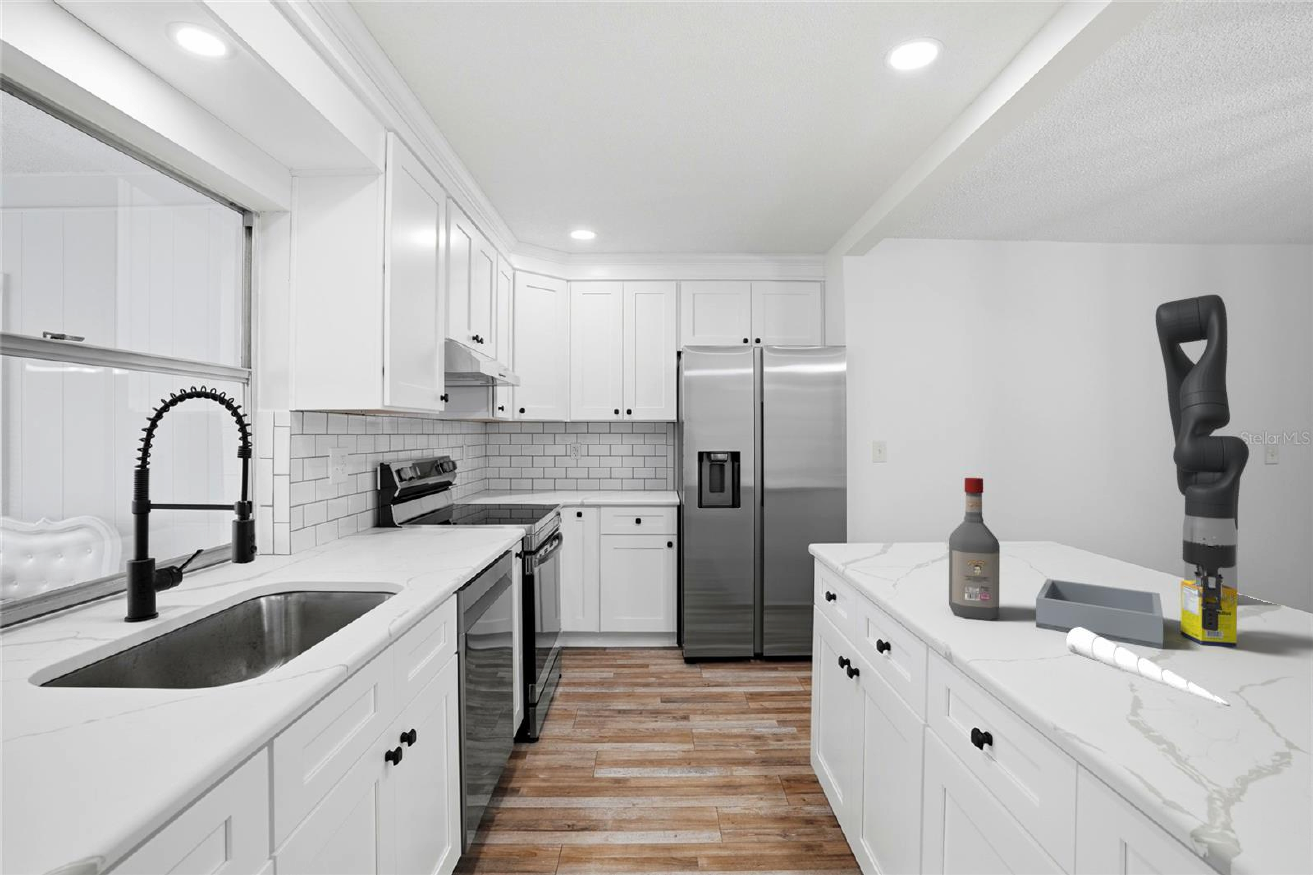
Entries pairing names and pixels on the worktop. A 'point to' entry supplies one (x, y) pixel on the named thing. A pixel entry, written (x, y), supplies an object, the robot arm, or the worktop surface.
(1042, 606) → the bin
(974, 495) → the liquor
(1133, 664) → the unicorn horn
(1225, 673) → the worktop surface
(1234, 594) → the supplement box
